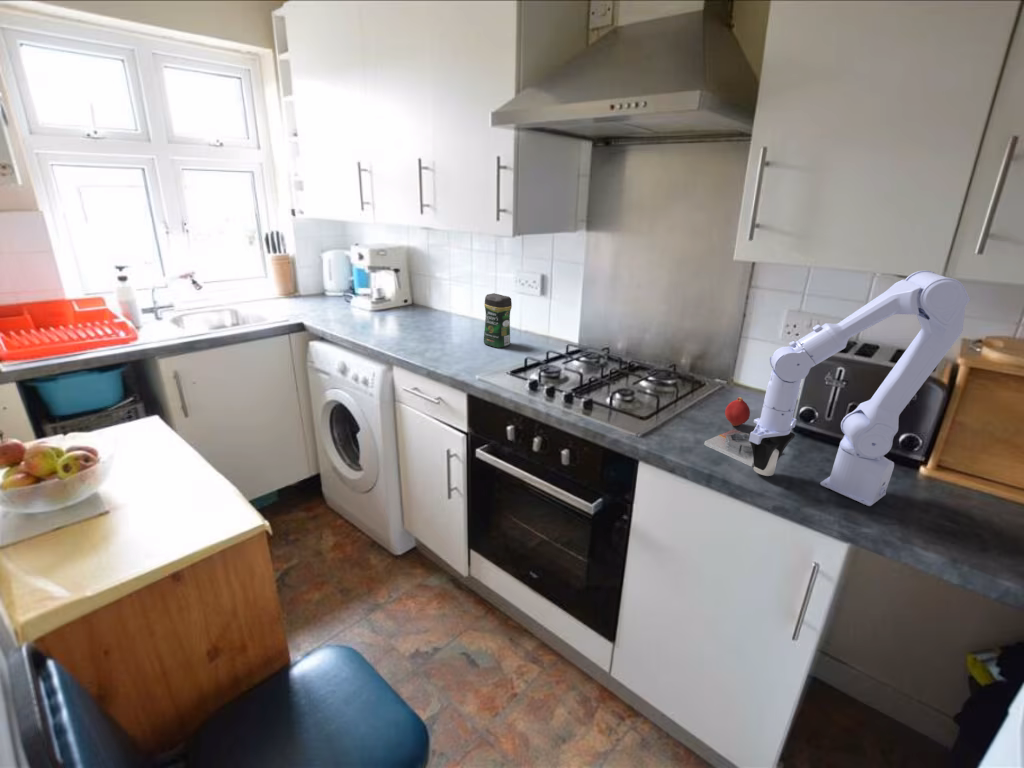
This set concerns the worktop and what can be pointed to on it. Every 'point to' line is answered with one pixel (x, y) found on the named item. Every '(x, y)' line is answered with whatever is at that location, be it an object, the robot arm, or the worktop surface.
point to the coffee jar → (497, 320)
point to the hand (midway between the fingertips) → (765, 464)
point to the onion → (737, 412)
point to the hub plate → (733, 446)
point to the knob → (769, 465)
